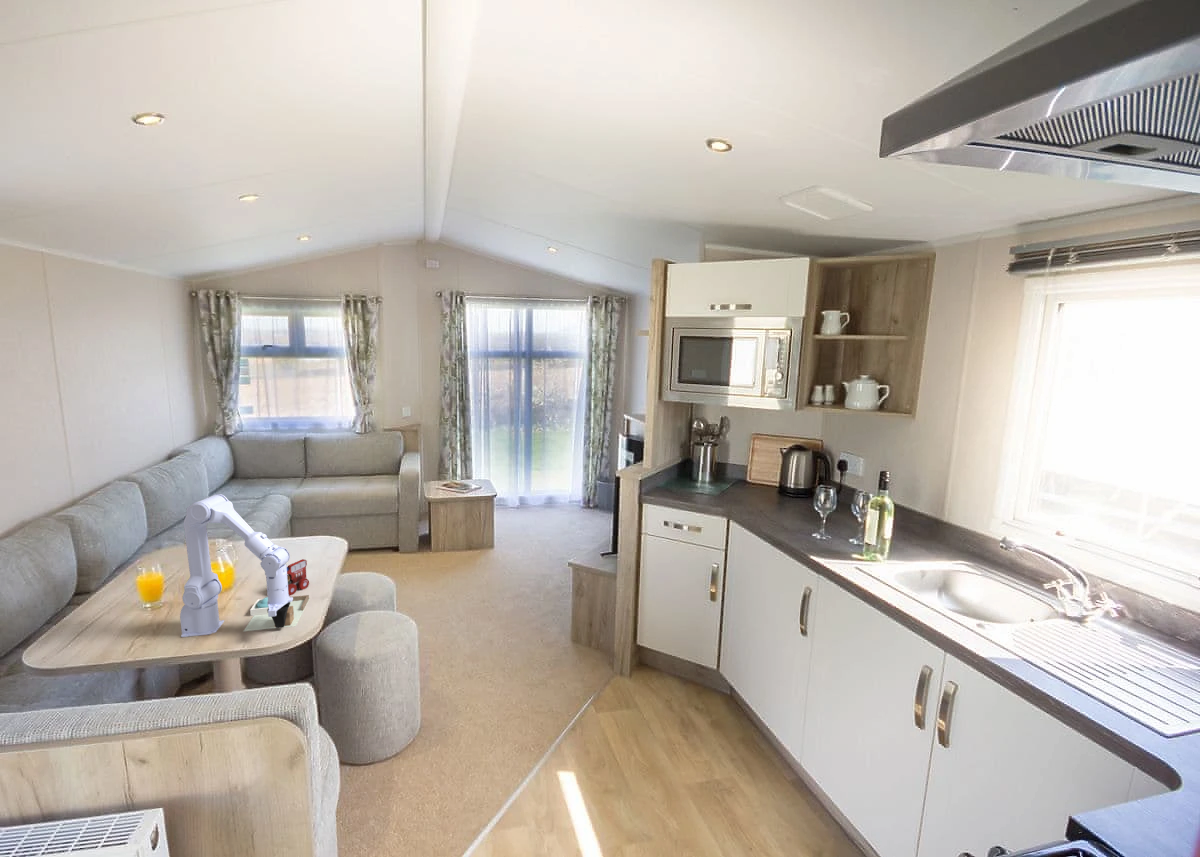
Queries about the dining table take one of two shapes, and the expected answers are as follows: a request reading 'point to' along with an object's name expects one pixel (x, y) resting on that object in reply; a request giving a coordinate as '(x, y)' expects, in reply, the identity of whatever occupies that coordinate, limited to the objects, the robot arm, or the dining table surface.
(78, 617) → the dining table surface
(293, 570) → the toy fire truck
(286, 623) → the die
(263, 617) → the pale green flat board
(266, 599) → the dome
